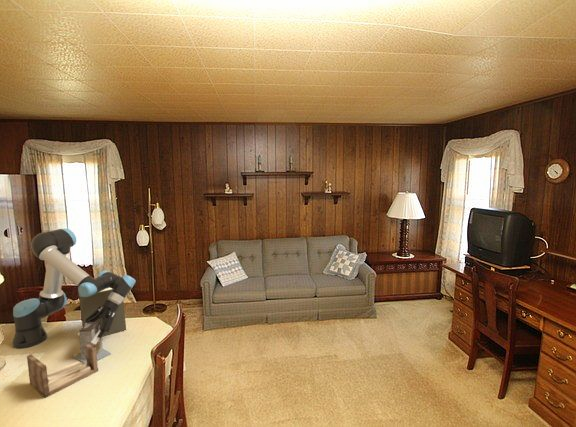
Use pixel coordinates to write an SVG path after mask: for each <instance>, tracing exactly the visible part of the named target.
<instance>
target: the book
mask: <svg viewBox="0 0 576 427" xmlns="http://www.w3.org/2000/svg"><path fill="white" fill-rule="evenodd" d="M113 290H114V289H112V288H110V287H108V288H106V289H104V290H102V291H100V292H98V293H96V294H94V295H91V296H89V297H82V296H81V295H80V293H79V292H78V300H79V308H80V309H79V310H80V317H81V324H82V328H83V327H84V325H85V324H86V321H85V319H86V318H88V317H89V316H90V315H91V314H92V313H93V312H95V311H96V310H97V309H98V307H102V308H103V307H104V306H103V304H104V302H105V301H106V300H107V299H108V297H109V295H110V294H111V293H112V291H113ZM113 313H115V314H116V315H115V317H114V319H113V321H112V324H111V327H110V330H109V332H104V334H103V335H102V337H105V336H108V335H112V334H116V333H120V331H121V332H124V331H123V330H126V331H127V323H126V314H125V313H126V312H125V304H124V300H123V301H122V303H121V304H119V307H118V308H117V310H116V311H113ZM95 322H100V325H101V327H102V322H103V318H99V319H98V320H96V321H95Z"/></svg>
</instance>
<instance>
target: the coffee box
mask: <svg viewBox="0 0 576 427" xmlns="http://www.w3.org/2000/svg"><path fill="white" fill-rule="evenodd" d="M100 329H101V325H100V322H88V323H87V324H86V325H85V326H84V327H83V326H82V327H81V328H79V331H78V334H79V333H80V336H79V342H80V353H81V355H82V359H87V358H86V347H85V345H88V344H90V345H91V346H93V347H95V348H96V352H97V355H98V354H99V353H100V352H101V351H102V349H104V347H103V336H102V337H101V338H100V339H99V340H98V342H97V343H96V344H93V343H91V341H92V340H93V338H94V337H95V335H96V334H97V333H98V331H99V330H100Z"/></svg>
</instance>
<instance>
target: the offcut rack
mask: <svg viewBox="0 0 576 427" xmlns="http://www.w3.org/2000/svg"><path fill="white" fill-rule="evenodd" d="M85 347H86V358H87V365H86V364H84V363H82V362H80V361H76V362H74V363H72V364H69V365H67V366H64V367H62V368H60V369H57V370H54V371H52V372H50V373H48V370H47V369H48V367H47V365H46V364H45V363H43V362H42V361H40V360H39V359H38V358H36V356H34V355H33V354H29V355H27V356H26V359H27V368H28V377H29V384H30V386H31V387H32V388H33V389H35V390H36V391H37V392H38V393H39V394H40V395H41V396H43V398H44V399H46V398H48V397H50V396H52V395H54V394H56V393H58V392H60V391H62V390H64V389H66V388H68V387H70V386H72V385H74V384H76V383H77V382H80V381H81V380H83V379H86V378H88V377H90V376H91V375H93V374H96V373H98V372H99V367H98V366H99V365H98V361H97V352H96V348H95V347H93V346H91V345H90V344H88V345H85Z"/></svg>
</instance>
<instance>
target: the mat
mask: <svg viewBox="0 0 576 427" xmlns="http://www.w3.org/2000/svg"><path fill="white" fill-rule="evenodd" d="M110 355H112V352H110V351H108V350H107V349H105V348H103V349H102V351H101V352H100V353H99V354H98V355H97V362H98V361H100V360H103V359H104V358H106V357H108V356H110ZM73 358H75V359H76V360H78V362H82V363H84V364H86V365H87V359H82V355H81V352H80V353H77V354H74V355H73Z"/></svg>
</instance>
